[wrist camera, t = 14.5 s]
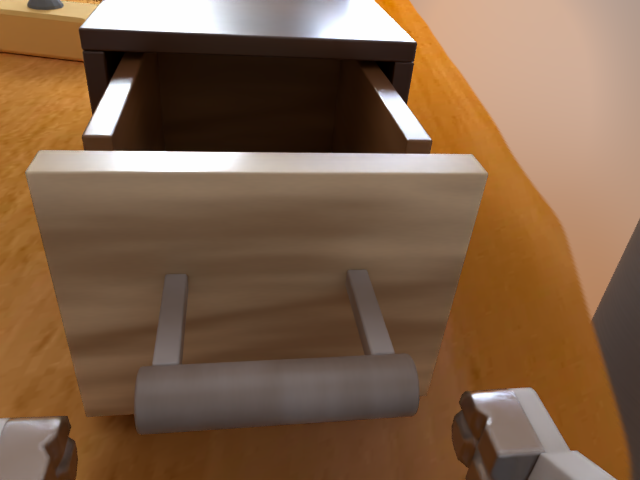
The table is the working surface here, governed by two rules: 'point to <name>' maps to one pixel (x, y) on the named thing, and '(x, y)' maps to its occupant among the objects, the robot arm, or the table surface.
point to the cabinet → (245, 34)
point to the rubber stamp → (43, 27)
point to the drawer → (253, 243)
